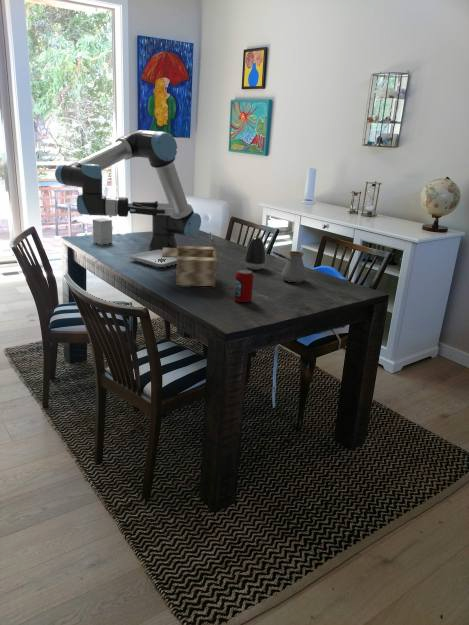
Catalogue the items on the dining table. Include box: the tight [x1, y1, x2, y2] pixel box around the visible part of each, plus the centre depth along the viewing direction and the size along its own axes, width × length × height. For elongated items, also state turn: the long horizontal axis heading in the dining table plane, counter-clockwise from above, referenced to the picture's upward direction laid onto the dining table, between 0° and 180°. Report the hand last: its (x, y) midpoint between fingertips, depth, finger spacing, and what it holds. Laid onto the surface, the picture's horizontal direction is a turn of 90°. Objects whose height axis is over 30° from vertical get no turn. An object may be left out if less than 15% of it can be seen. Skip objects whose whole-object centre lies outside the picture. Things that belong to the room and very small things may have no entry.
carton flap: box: [209, 231, 219, 259], centre depth 209 cm, size 8×13×1 cm
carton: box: [162, 245, 219, 288], centre depth 211 cm, size 22×24×13 cm
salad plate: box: [129, 250, 177, 268], centre depth 239 cm, size 21×21×3 cm
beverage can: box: [233, 268, 254, 303], centre depth 192 cm, size 7×7×12 cm
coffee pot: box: [271, 250, 308, 283], centre depth 220 cm, size 21×12×15 cm, turn 132°
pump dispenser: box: [244, 236, 267, 271], centre depth 238 cm, size 10×10×15 cm
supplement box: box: [92, 217, 113, 246], centre depth 266 cm, size 7×7×13 cm
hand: (173, 209), depth 202 cm, fingers open, 11 cm apart
